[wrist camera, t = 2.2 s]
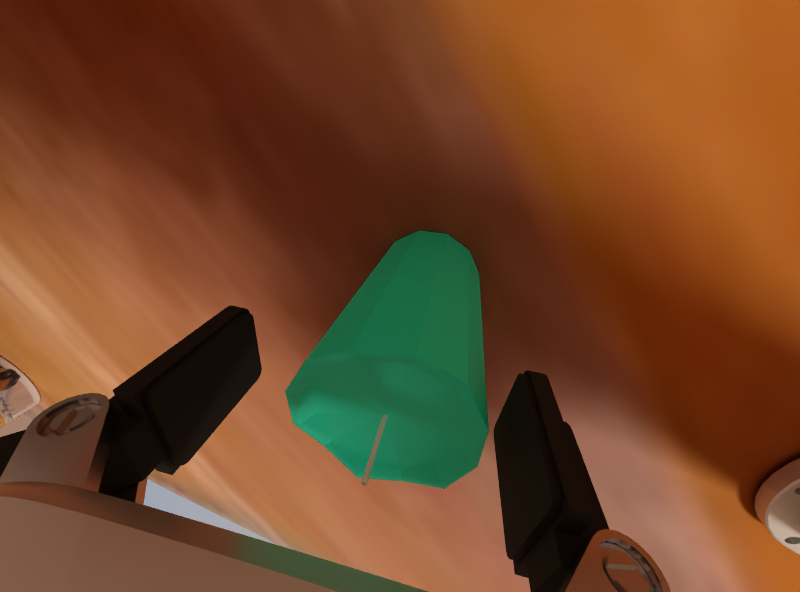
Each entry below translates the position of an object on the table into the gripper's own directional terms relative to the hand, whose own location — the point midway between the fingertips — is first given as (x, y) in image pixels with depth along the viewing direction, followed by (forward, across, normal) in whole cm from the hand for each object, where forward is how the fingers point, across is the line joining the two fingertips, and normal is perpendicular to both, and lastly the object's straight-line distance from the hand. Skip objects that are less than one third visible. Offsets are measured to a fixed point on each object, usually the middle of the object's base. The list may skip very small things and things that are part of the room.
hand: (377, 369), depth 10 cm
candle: (+9, -1, 0) cm, 9 cm away
